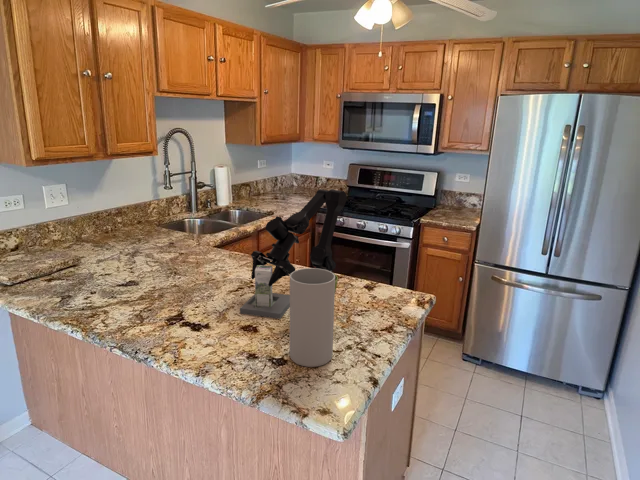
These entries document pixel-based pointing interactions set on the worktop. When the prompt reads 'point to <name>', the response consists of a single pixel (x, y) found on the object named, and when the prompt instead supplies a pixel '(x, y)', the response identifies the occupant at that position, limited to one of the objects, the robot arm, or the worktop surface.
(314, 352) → the cylinder vase
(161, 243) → the worktop surface
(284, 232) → the robot arm
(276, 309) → the pocket plate
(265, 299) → the syrup box
